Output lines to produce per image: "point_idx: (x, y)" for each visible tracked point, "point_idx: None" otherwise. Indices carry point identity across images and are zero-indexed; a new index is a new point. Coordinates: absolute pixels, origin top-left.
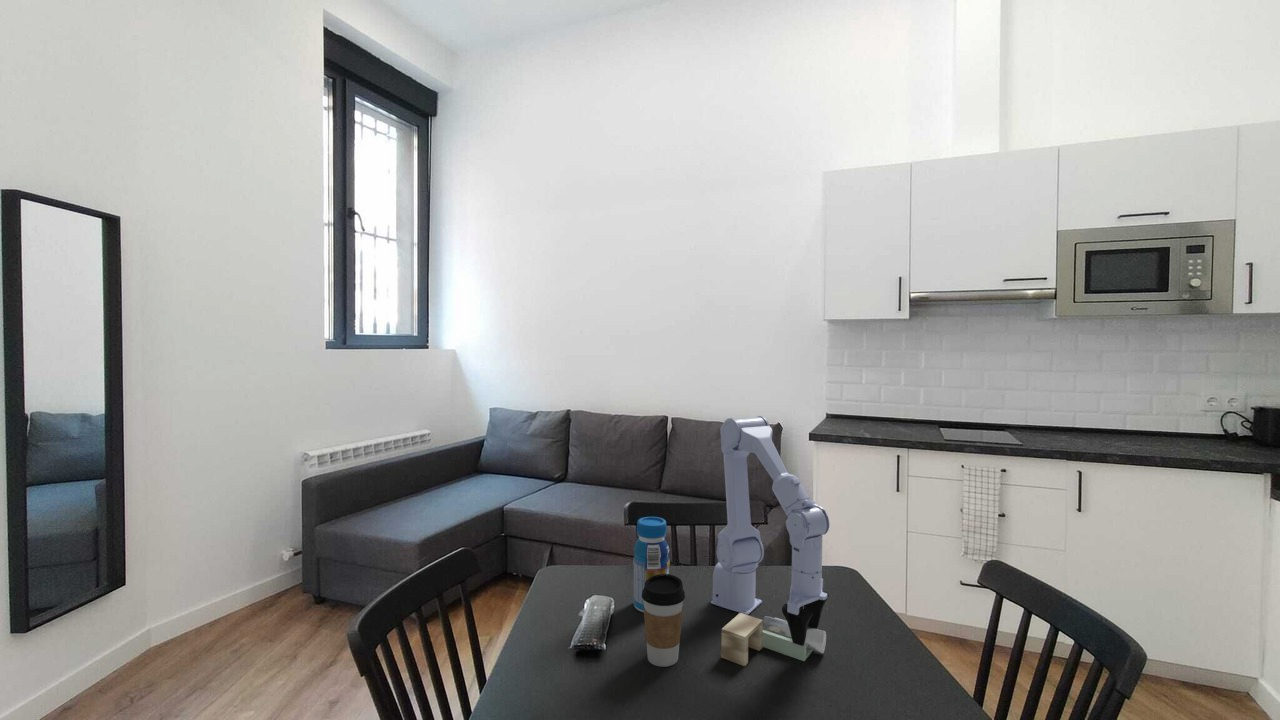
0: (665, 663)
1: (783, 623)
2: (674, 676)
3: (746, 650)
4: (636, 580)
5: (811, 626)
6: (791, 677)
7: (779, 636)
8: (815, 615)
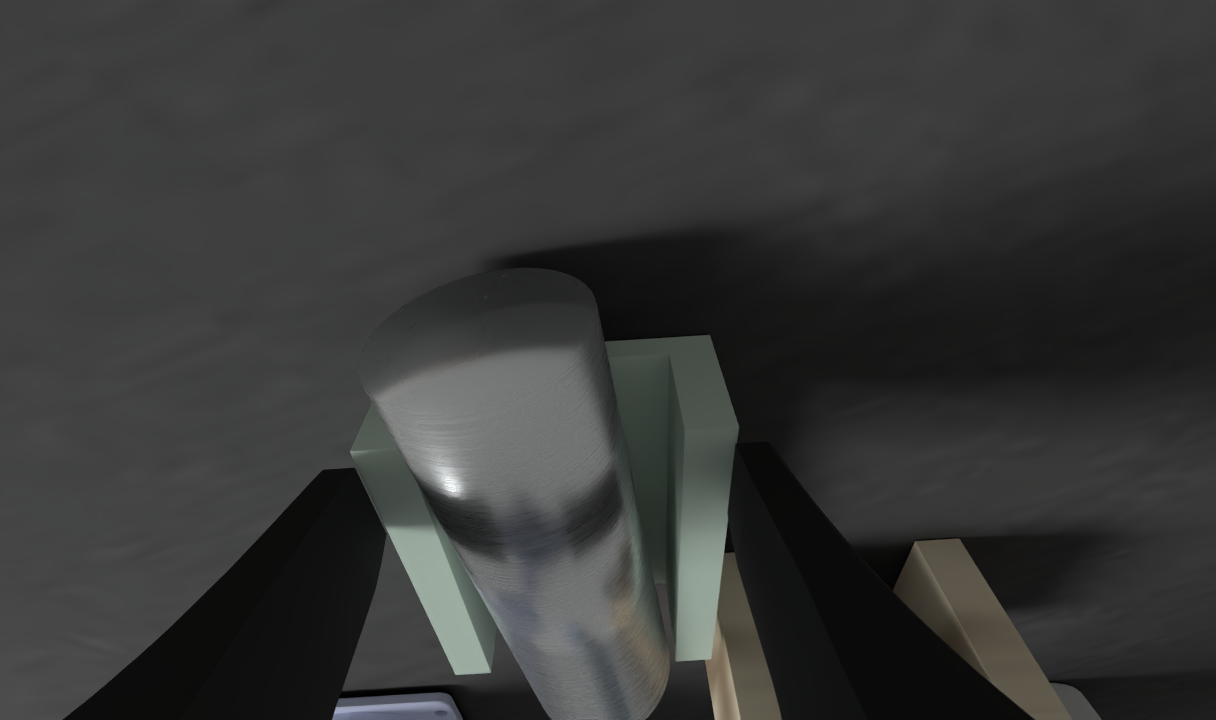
0: (1089, 704)
1: (597, 662)
2: (1144, 653)
3: (988, 625)
4: None
5: (366, 515)
6: (989, 318)
7: (700, 586)
8: (288, 621)
